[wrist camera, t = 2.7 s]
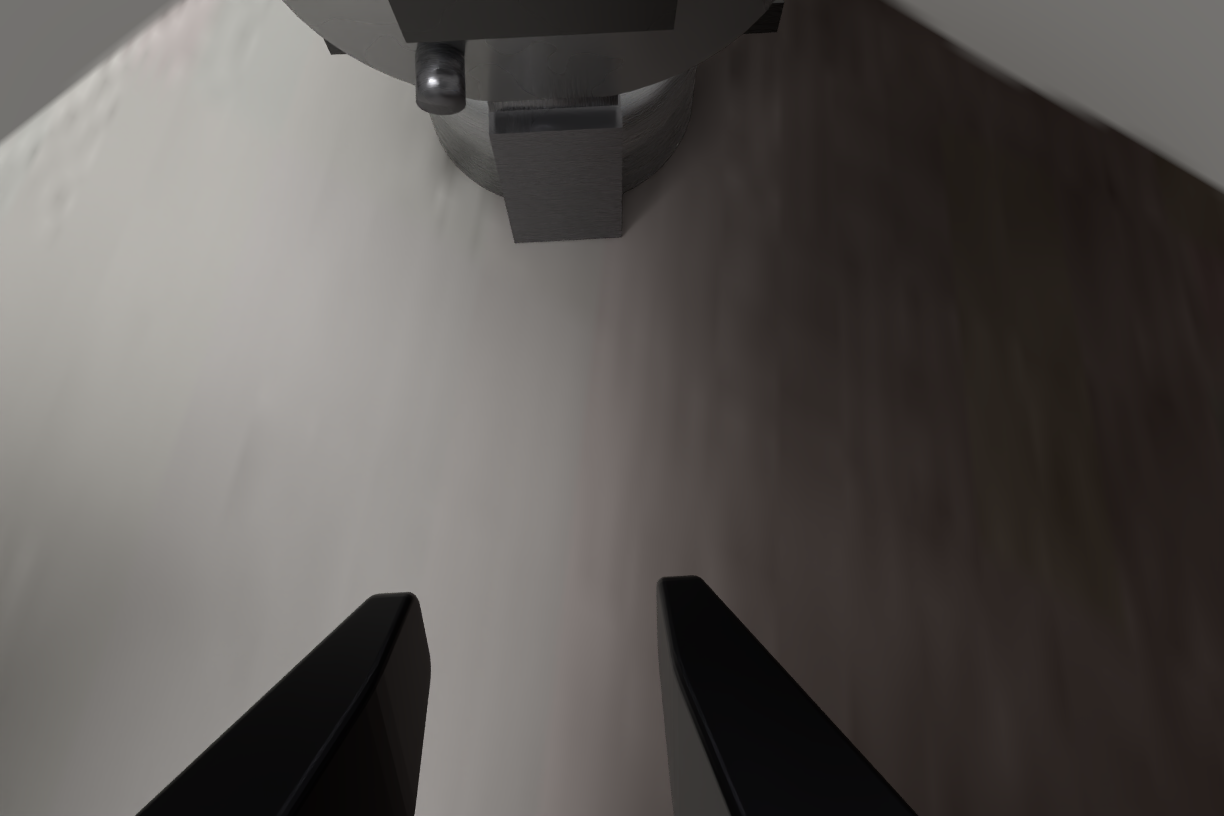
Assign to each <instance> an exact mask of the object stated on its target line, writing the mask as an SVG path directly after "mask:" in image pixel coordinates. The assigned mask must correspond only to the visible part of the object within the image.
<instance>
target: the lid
mask: <svg viewBox="0 0 1224 816" xmlns="http://www.w3.org/2000/svg"><path fill="white" fill-rule="evenodd" d="M282 1H283V2H284V3H285V4H286V5H287V6H288V7H289V8H290V9H291V10H292V11H293V12H294V13H295V14H296V15H297V17H299V18H300V19H301V20H302V21H303V22H304V23H306V24H307V25H308V26H309V27H310V28H311V29H313V30H314V31H315V32H316V33H317V34H319V35H320V36H321V37H323V38H324V39H325V40H327V41H328V42H330V43H331V44H333V45H334V46H336V47H337V48H338V49H340V50H341V51H343V52H344V53H346V54H348V55H350V56H352V57H353V58H355V59H357V60H359V61H360V62H362V63H364V64H366V65H368V66H370V67H372V68H374V69H376V70H378V71H381V72H383V73H385V74H387V75H389V76H392V77H394V78H397V79H399V80H402V81H405V82H408V83H411V84H413V85H416V103H417V105H418V106H419V107H420V108H421V109H422V110H424V111H426V112H428V113H431V114H435V115H452V114H456V113H459V112H461V111H462V110H463V109H464V108H465V106H466V98H468V99H473V100H481V101H487V103H488V108H489V111H490V112H497V111H516V110H535V109H555V108H574V107H594V106H613V105H618V94H622V93H626V92H631V91H634V90H637V89H640V88H643V87H646V86H650V85H653V84H656V83H658V82H661V81H663V80H666V79H668V78H670V77H673V76H675V75H678V74H680V73H682V72H684V71H686V70H688V69H690V68H692V67H694V66H696V65H698V64H700V63H702V62H704V61H705V60H707V59H708V58H710V57H711V56H713V55H715V54H716V53H718V52H719V51H721V50H722V49H724V48H725V47H727V46H728V45H729V44H731V43H732V42H733V41H734V40H736V39H737V38H738V37H739V36H741V35H742V34H743V33H745V32H746V31H747V30H748V29H749V28H750V27H751V26H752V25H753V24H754V23H755V22H756V21H757V20H758V19H759V18H760V17H761V16H762V15H763V14H764V13H765V12H766V11H767V9H768V8H769V7H770V6H771V5H772V3H773V2H774V1H775V0H282Z"/></svg>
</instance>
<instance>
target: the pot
mask: <svg viewBox="0 0 1224 816" xmlns="http://www.w3.org/2000/svg"><path fill="white" fill-rule="evenodd" d="M783 5H784V0H775V1H774V2H773V3H772V5H771V6H770V7H769V8H768V9H767V11H766V12H765V13H764V14H763V15H762V16H761V17H760V18H759V19H758V20H757V21H756V22H755V23H754V24H753V25H752V26H751V27H750V28H749V29H748V30H747V31H746V32H745V33H743V34H748V33H768V32H777V29H778V25H779V21H780V17H781V13H782V9H783ZM324 41H325V43H326V45H327V47H328V49H329V51H330V53H331V55H333V54H346V53H344V52H343V51H341V50H340V49H338V48H337V47H336V46H334V45H333V44H331V43H330V42H328V41H327V40H325V39H324ZM696 69H697V65H696V66H694V67H692V68H690V69H688V70H686V71H684V72H682V73H680V74H678V75H675V76H673V77H670V78H668V79H666V80H663V81H661V82H658V83H656V84H653V85H650V86H646V87H643V88H640V89H637V90H634V91H631V92H626V93H622V94H618V105H613V106H594V107H574V108H555V109H535V110H516V111H497V112H490V111H489V108H488V103H487V101H481V100H473V99H468V98H466V106H465V108H464V109H463V110H462V111H461V112H459V113H456V114H452V115H435V114H431V113H430V116H431V119H432V122H433V125H434V128H435V131H436V133H437V136H438V138H439V141H440V143H441V144H442V146H443V148H444V150H445V151H446V153H447V155H448V156H449V157H450V158H451V160H452V161H453V162H454V163H455V164H456V166H457V167H458V168H459V169H460V170H461V171H462V172H464V173H465V174H466V175H467V176H468V177H469V178H470V179H472V180H473V181H475V182H476V183H478V184H479V185H480V186H482V187H484V188H486V189H487V190H489V191H491V192H493V193H495V194H497V195H500V196H502V197H504V200H505V204H506V208H507V212H508V217H509V221H510V225H511V229H512V233H513V237H514V242H515V243H523V242H542V241H561V240H579V239H598V238H616V237H621V233H622V193H624V192H626V191H628V190H630V189H632V188H634V187H636V186H637V185H639V184H640V183H642V182H643V181H645V180H646V179H648V178H649V177H650V176H652V175H653V174H654V173H655V172H656V171H657V170H659V169H660V168H661V167H662V166H663V165H664V163H665V162H666V161H667V160H668V159H669V158H670V157H671V155H672V154H673V152H674V151H675V149H676V148H677V146H678V145H679V143H680V142H681V139H682V137H683V135H684V133H685V131H686V129H687V125H688V122H689V118H690V114H691V107H692V99H693V92H694V84H695V77H696Z"/></svg>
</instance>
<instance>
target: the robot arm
mask: <svg viewBox="0 0 1224 816" xmlns="http://www.w3.org/2000/svg"><path fill="white" fill-rule="evenodd" d="M656 597H657V640H658V659H659V671H660V681H661V692H662V702H663V713H664V723H665V734H666V744H667V755H668V765H669V776H670V786H671V795H672V803H673V811H674V816H918V815H917V814H916V813H915V811H914V810H913V809H912V808H911V807H910V806H909V805H908V804H907V803H906V802H905V800H904V799H903V798H902V797H901V796H900V795H899V794H898V793H897V792H896V791H895V790H894V788H893V787H892V786H891V785H890V784H889V783H888V782H887V781H886V780H885V779H884V778H883V776H882V775H881V774H880V773H879V772H878V771H877V770H876V769H875V768H874V767H873V765H872V764H871V763H870V762H869V761H868V760H867V759H866V758H865V757H864V756H863V755H862V753H861V752H860V751H859V750H858V749H857V748H856V747H855V746H854V745H853V744H852V742H851V741H850V740H849V739H848V738H847V737H846V736H845V735H844V734H843V733H842V732H841V730H840V729H839V728H838V727H837V726H836V725H835V724H834V723H833V722H832V721H831V720H830V718H829V717H828V716H827V715H826V714H825V713H824V712H823V711H822V710H821V709H820V707H819V706H818V705H817V704H816V703H815V702H814V701H813V700H812V699H811V698H810V697H809V695H808V694H807V693H806V692H805V691H804V690H803V689H802V688H801V687H800V686H799V684H798V683H797V682H796V681H795V680H794V679H793V678H792V677H791V676H790V675H789V674H788V672H787V671H786V670H785V669H784V668H783V667H782V666H781V665H780V664H779V663H778V662H777V660H776V659H775V658H774V657H773V656H772V655H771V654H770V653H769V652H768V651H767V649H766V648H765V647H764V646H763V645H762V644H761V643H760V642H759V641H758V640H757V639H756V637H755V636H754V635H753V634H752V633H751V632H750V631H749V630H748V629H747V628H746V627H745V625H744V624H743V623H742V622H741V621H740V620H739V619H738V618H737V617H736V616H735V614H734V613H733V612H732V611H731V610H730V609H729V608H728V607H727V606H726V605H725V604H724V602H723V601H722V600H721V599H720V598H719V597H718V596H717V595H716V594H715V593H714V591H713V590H712V589H711V588H710V587H709V586H708V585H707V584H706V583H705V582H704V581H703V580H702V579H701V578H700V577H698V576H694V575H690V576H673V577H662V578H660V579H659V580H658V582H657V587H656ZM430 678H431V662H430V653H429V648H428V643H427V638H426V633H425V628H424V623H423V618H422V613H421V608H420V604H419V601H418V599H417V597H416V595H414V594H413V593H411V592H399V593H382V594H375V595H373V596H371V597H369V598H368V599H367V600H366V601H365V602H363V603H362V604H361V605H360V606H359V607H358V608H357V609H356V610H355V611H354V612H353V613H352V614H351V615H350V616H348V617H347V618H346V619H345V620H344V621H343V622H342V623H341V624H340V625H339V626H338V627H337V628H336V629H335V630H333V631H332V632H331V633H330V634H329V635H328V636H327V637H326V638H325V639H324V640H323V641H322V642H321V643H320V644H318V645H317V646H316V647H315V648H314V649H313V650H312V651H311V652H310V653H309V654H308V655H307V656H306V657H305V658H303V659H302V660H301V661H300V662H299V663H298V664H297V665H296V666H295V667H294V668H293V669H292V670H291V671H290V672H288V673H287V674H286V675H285V676H284V677H283V678H282V679H281V680H280V681H279V682H278V683H277V684H276V685H275V686H273V687H272V688H271V689H270V690H269V691H268V692H267V693H266V694H265V695H264V696H263V697H262V698H261V699H260V700H258V701H257V702H256V703H255V704H254V705H253V706H252V707H251V708H250V709H249V710H248V711H247V712H246V713H245V714H243V715H242V716H241V717H240V718H239V719H238V720H237V721H236V722H235V723H234V724H233V725H232V726H231V727H230V728H228V729H227V730H226V731H225V732H224V733H223V734H222V735H221V736H220V737H219V738H218V739H217V740H216V741H215V742H213V743H212V744H211V745H210V746H209V747H208V748H207V749H206V750H205V751H204V752H203V753H202V754H201V755H200V756H198V757H197V758H196V759H195V760H194V761H193V762H192V763H191V764H190V765H189V766H188V767H187V768H186V769H185V770H183V771H182V772H181V773H180V774H179V775H178V776H177V777H176V778H175V779H174V780H173V781H172V782H171V783H170V784H168V785H167V786H166V787H165V788H164V789H163V790H162V791H161V792H160V793H159V794H158V795H157V796H156V797H155V798H153V799H152V800H151V801H150V802H149V803H148V804H147V805H146V806H145V807H144V808H143V809H142V810H141V811H140V812H138V813H137V814H136V815H135V816H414V814H415V807H416V798H417V790H418V781H419V773H420V764H421V756H422V747H423V739H424V730H425V722H426V713H427V705H428V696H429V688H430Z"/></svg>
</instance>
